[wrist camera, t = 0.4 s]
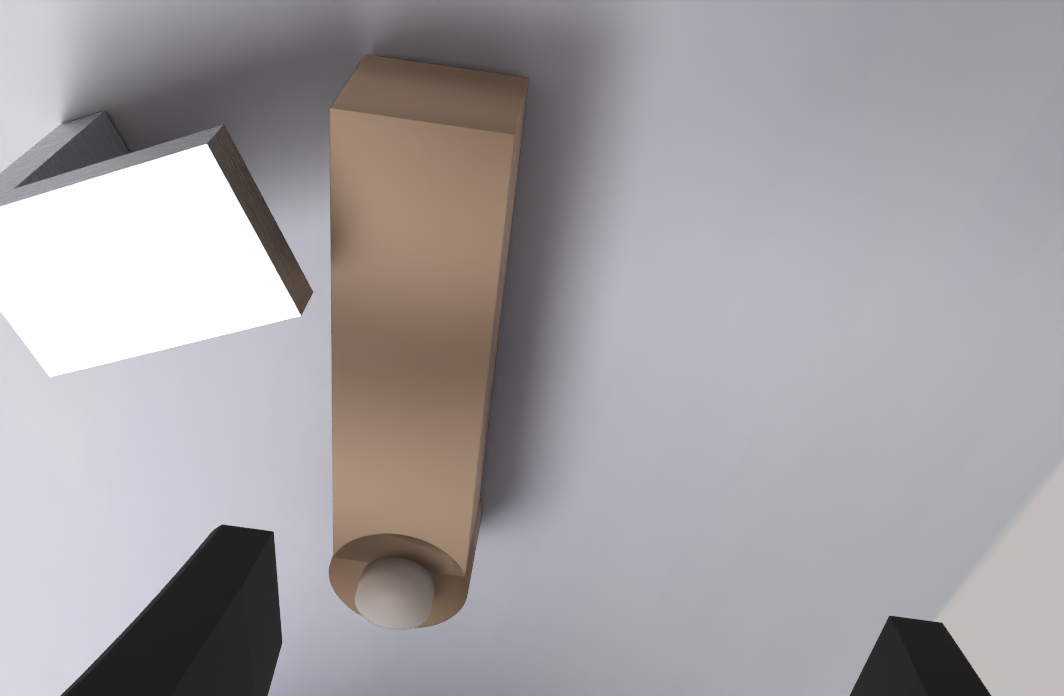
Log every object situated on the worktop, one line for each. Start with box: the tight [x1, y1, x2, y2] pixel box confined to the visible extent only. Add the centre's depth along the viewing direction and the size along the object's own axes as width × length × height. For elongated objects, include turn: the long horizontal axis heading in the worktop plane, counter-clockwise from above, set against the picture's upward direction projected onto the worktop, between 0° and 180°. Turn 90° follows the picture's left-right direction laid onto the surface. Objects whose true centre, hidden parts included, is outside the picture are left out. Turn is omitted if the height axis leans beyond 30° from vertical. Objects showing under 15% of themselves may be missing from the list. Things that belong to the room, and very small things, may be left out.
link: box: [329, 54, 529, 630], centre depth 19 cm, size 12×3×3 cm, turn 173°
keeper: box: [0, 111, 313, 377], centre depth 17 cm, size 3×5×4 cm, turn 108°
